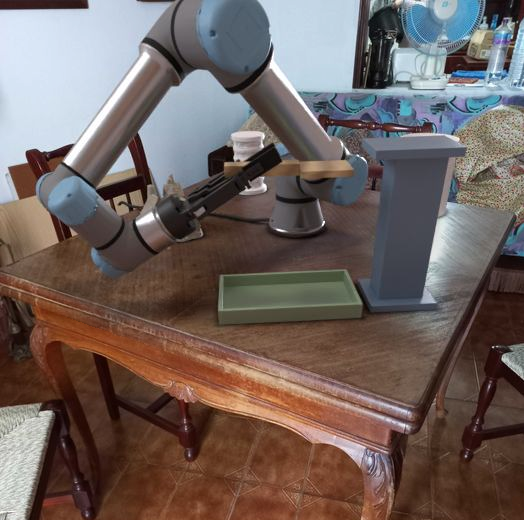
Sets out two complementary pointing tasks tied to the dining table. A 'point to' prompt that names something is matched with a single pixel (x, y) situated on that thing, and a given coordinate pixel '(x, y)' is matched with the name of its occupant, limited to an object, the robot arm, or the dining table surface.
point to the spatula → (299, 169)
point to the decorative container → (249, 155)
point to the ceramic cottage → (168, 190)
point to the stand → (406, 219)
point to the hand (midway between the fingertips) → (277, 151)
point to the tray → (287, 297)
